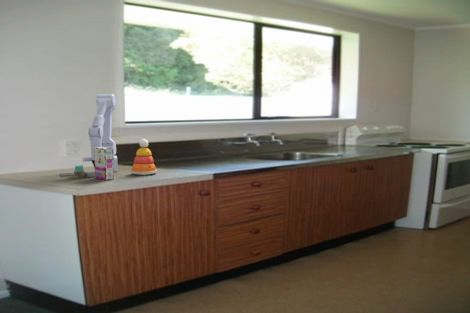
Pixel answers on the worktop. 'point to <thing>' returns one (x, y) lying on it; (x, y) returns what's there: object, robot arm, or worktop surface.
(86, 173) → the rod
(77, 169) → the block
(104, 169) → the candy bar box
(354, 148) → the worktop surface
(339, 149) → the worktop surface
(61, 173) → the coaster
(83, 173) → the channel
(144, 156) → the stacking toy
